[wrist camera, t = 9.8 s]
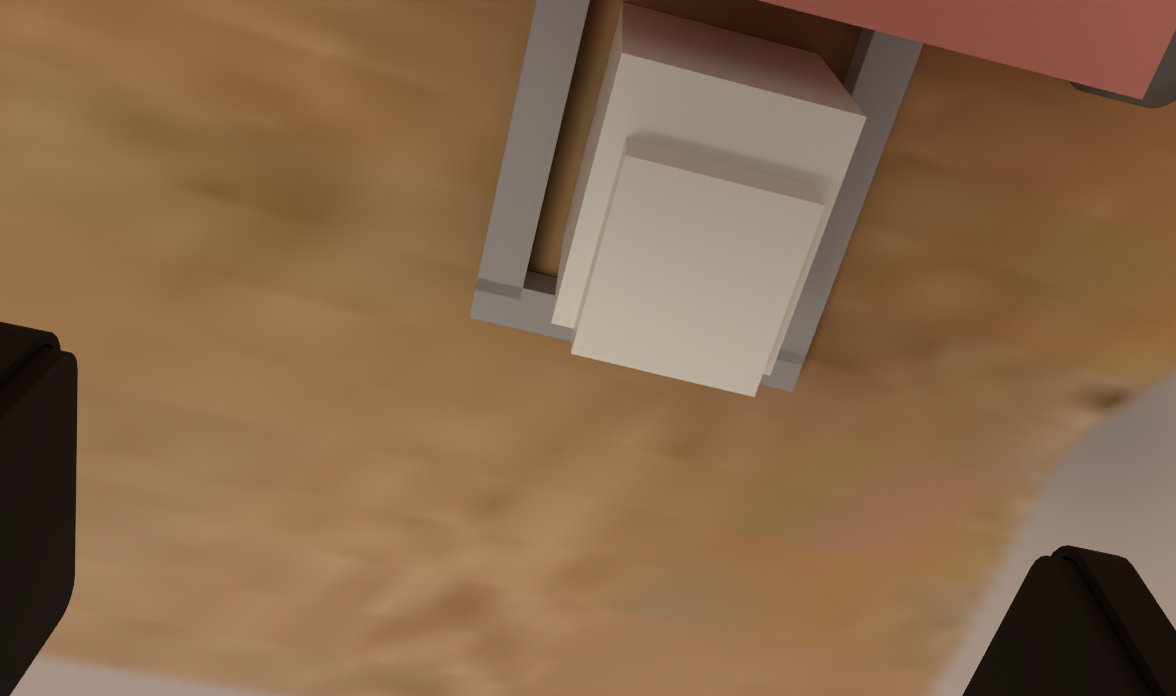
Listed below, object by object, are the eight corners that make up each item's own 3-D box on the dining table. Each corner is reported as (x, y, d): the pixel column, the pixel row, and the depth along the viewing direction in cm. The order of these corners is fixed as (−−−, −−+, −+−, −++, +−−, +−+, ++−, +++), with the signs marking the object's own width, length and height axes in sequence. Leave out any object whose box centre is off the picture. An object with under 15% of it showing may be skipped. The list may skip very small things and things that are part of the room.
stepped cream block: (622, 1, 26) (621, 66, 20) (818, 53, 27) (879, 133, 20) (564, 226, 29) (547, 348, 23) (743, 271, 29) (777, 402, 23)
